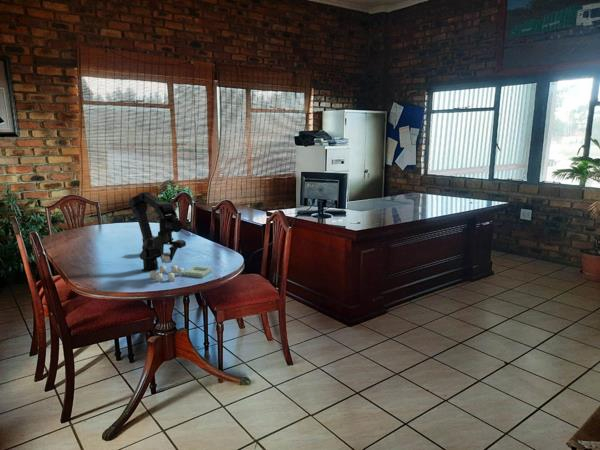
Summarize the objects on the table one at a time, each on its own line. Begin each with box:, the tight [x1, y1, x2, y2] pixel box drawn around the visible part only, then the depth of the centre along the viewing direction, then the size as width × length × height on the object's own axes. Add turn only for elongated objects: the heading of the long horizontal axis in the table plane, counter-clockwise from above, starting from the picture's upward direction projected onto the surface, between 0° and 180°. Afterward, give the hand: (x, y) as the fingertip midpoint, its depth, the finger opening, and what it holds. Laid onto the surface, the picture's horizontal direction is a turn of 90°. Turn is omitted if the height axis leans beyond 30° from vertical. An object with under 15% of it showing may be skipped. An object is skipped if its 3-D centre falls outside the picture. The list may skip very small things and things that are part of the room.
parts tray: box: [184, 265, 212, 279], centre depth 228 cm, size 10×10×2 cm
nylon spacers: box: [149, 264, 185, 283], centre depth 222 cm, size 13×17×4 cm
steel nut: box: [160, 252, 173, 264], centre depth 220 cm, size 5×5×4 cm
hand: (166, 259), depth 220 cm, fingers closed on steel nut, 5 cm apart
